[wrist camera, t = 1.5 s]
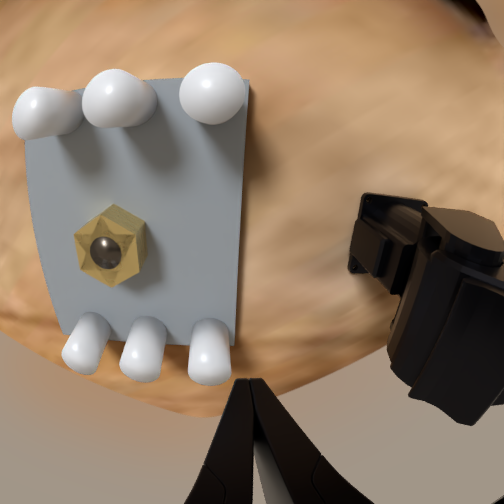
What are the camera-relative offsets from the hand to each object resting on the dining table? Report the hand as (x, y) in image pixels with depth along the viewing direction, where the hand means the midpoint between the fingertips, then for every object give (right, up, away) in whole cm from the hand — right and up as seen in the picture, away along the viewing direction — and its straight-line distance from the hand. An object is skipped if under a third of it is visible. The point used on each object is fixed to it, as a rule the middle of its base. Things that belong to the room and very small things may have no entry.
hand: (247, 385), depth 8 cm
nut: (-9, +5, +10) cm, 14 cm away
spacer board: (-9, +6, +11) cm, 15 cm away
